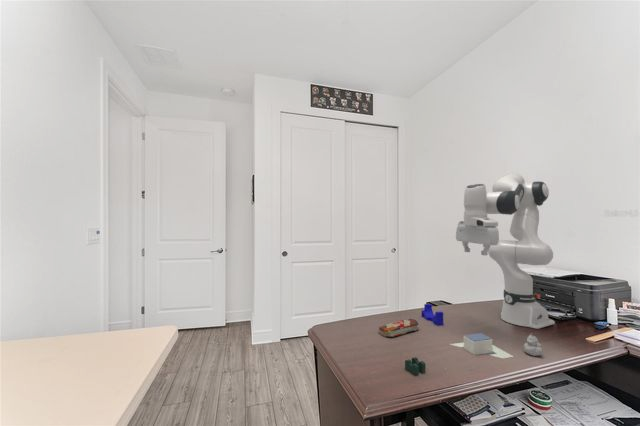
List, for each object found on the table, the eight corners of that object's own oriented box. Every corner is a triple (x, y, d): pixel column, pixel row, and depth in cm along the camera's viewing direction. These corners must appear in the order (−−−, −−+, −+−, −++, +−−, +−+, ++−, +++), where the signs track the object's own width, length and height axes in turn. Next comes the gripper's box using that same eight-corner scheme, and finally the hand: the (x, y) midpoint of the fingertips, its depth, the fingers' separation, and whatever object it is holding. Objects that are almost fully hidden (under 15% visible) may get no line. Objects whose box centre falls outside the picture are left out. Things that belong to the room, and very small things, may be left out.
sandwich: (373, 331, 119) (373, 319, 119) (411, 325, 124) (411, 314, 124) (386, 342, 108) (386, 330, 108) (427, 336, 114) (427, 324, 114)
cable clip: (421, 316, 136) (421, 304, 136) (430, 315, 136) (430, 304, 136) (433, 326, 124) (433, 313, 124) (443, 325, 124) (443, 312, 124)
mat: (483, 341, 109) (483, 339, 109) (513, 358, 96) (513, 356, 96) (444, 346, 105) (444, 344, 105) (470, 364, 92) (470, 362, 92)
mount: (421, 368, 90) (421, 353, 90) (432, 375, 86) (432, 359, 86) (397, 378, 85) (397, 362, 85) (408, 386, 81) (408, 369, 81)
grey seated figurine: (519, 352, 100) (519, 330, 100) (531, 349, 102) (531, 328, 102) (535, 359, 95) (535, 337, 95) (547, 356, 97) (547, 334, 97)
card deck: (463, 348, 102) (463, 335, 102) (481, 345, 104) (481, 332, 104) (473, 355, 97) (473, 341, 97) (492, 352, 99) (492, 338, 99)
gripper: (452, 221, 126) (452, 250, 126) (488, 222, 106) (488, 257, 106) (463, 220, 127) (463, 250, 127) (501, 222, 107) (501, 256, 107)
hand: (475, 253), depth 117 cm, fingers open, 8 cm apart
